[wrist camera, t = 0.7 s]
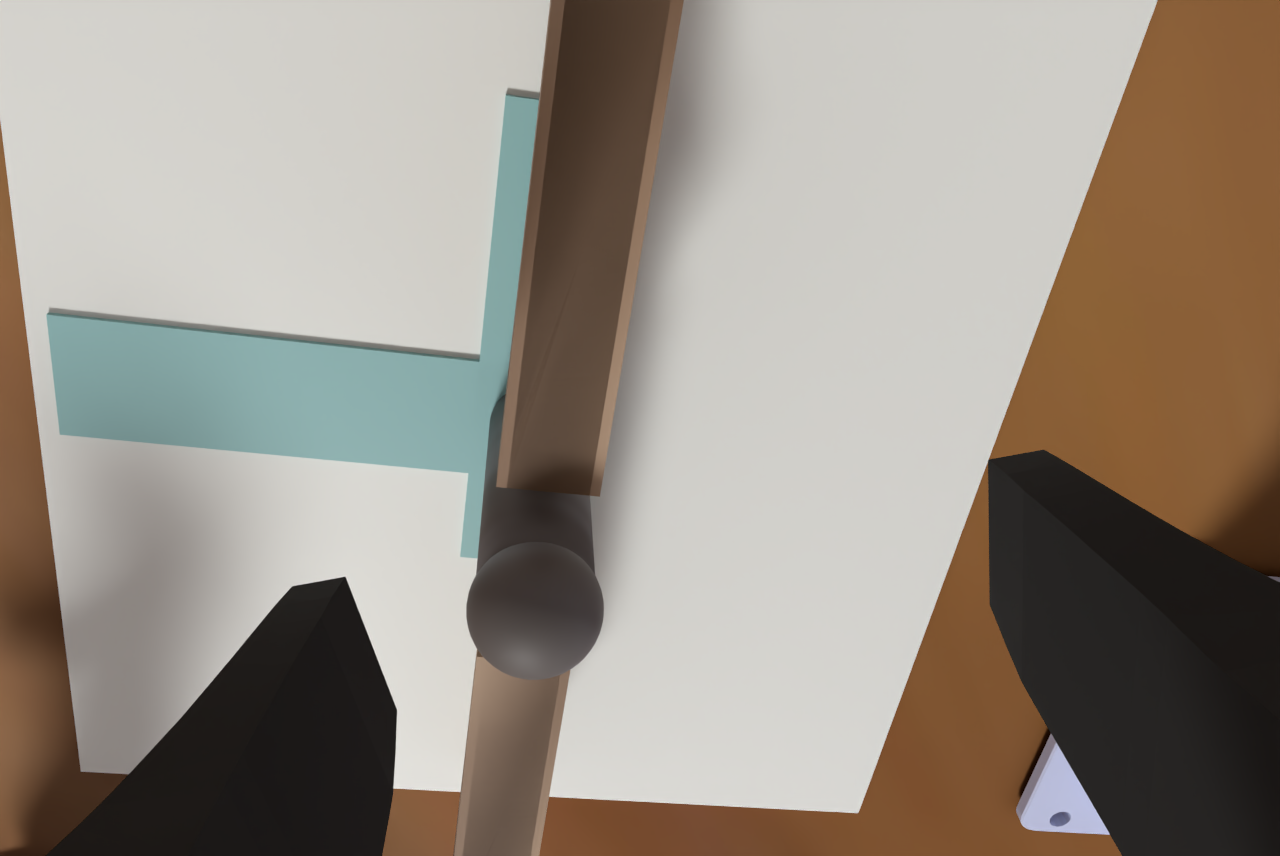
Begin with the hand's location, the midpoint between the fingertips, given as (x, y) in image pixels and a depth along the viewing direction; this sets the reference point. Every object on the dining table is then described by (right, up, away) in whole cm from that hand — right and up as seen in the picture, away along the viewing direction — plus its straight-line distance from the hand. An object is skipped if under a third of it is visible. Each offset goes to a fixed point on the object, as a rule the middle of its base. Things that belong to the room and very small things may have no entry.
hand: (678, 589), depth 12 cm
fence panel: (-1, +6, +6) cm, 9 cm away
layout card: (-2, +4, +8) cm, 9 cm away
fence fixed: (-3, -2, +10) cm, 11 cm away
